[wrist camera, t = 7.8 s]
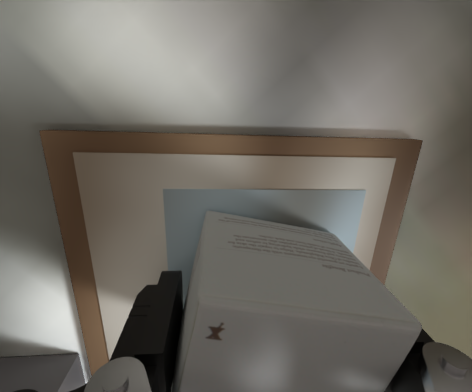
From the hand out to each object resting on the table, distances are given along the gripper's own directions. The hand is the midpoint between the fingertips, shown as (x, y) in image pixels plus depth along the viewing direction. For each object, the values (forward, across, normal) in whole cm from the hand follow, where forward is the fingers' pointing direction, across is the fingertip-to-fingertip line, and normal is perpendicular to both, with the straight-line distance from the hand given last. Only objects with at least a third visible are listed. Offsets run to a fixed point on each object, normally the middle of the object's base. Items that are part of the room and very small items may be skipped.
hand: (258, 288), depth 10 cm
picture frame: (+1, +1, +1) cm, 2 cm away
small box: (+1, 0, 0) cm, 1 cm away
